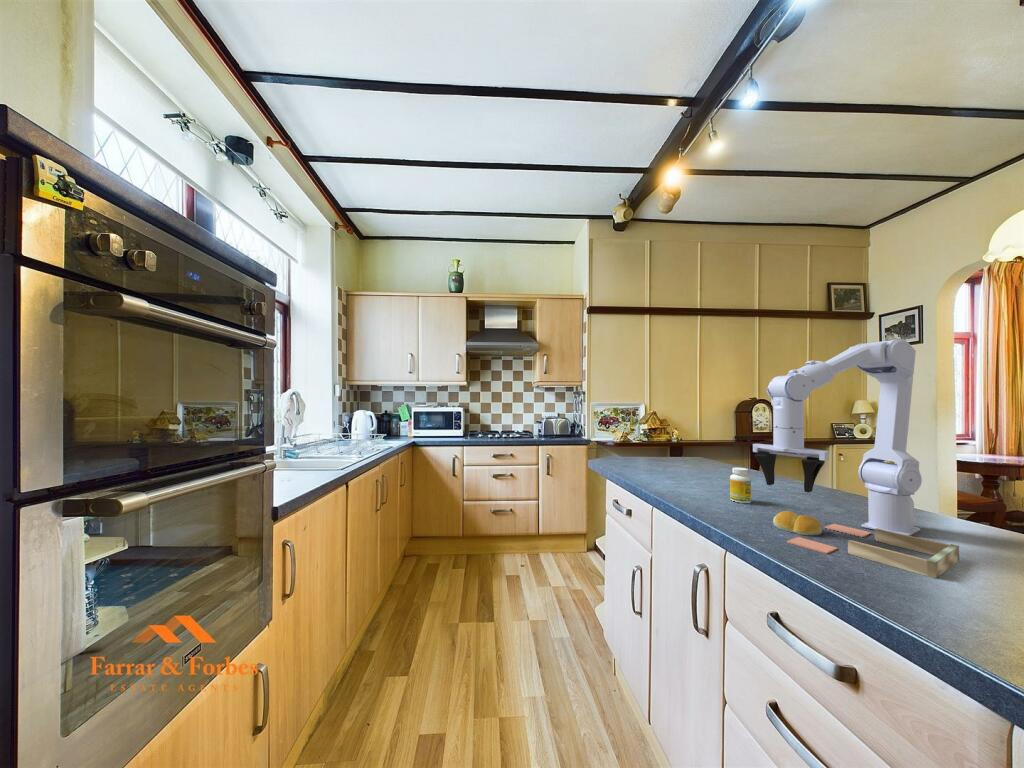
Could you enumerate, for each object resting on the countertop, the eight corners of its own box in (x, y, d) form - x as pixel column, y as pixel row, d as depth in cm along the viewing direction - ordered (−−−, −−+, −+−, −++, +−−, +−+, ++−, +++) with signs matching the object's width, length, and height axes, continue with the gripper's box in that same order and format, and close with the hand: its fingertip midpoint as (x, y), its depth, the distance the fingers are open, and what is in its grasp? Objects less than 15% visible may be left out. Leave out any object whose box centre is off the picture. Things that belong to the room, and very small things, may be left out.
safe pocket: (876, 539, 85) (876, 527, 85) (959, 560, 75) (958, 545, 75) (847, 553, 77) (847, 539, 77) (935, 578, 67) (935, 562, 67)
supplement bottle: (733, 498, 119) (733, 466, 119) (753, 501, 115) (753, 468, 116) (727, 501, 115) (727, 468, 116) (747, 505, 112) (747, 471, 112)
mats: (833, 524, 95) (833, 523, 95) (871, 533, 89) (871, 532, 89) (786, 542, 83) (786, 541, 83) (826, 554, 77) (826, 552, 77)
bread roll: (817, 540, 85) (817, 521, 86) (770, 529, 92) (769, 511, 92) (826, 531, 91) (826, 514, 91) (781, 521, 98) (780, 505, 98)
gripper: (746, 426, 94) (746, 483, 93) (818, 431, 82) (819, 497, 81) (761, 425, 98) (761, 480, 97) (832, 430, 85) (833, 493, 85)
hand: (788, 488), depth 89 cm, fingers open, 7 cm apart
